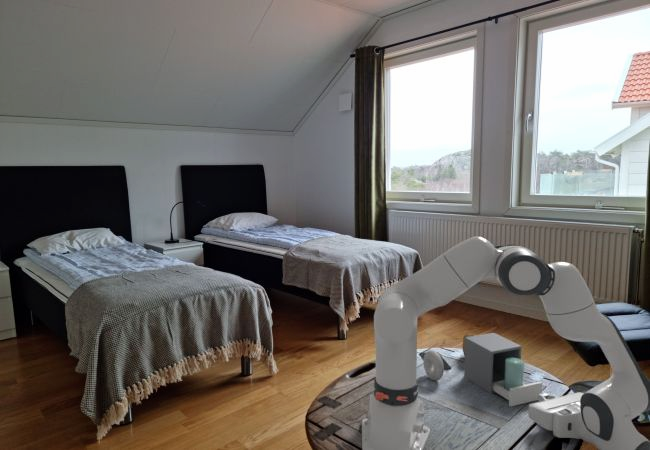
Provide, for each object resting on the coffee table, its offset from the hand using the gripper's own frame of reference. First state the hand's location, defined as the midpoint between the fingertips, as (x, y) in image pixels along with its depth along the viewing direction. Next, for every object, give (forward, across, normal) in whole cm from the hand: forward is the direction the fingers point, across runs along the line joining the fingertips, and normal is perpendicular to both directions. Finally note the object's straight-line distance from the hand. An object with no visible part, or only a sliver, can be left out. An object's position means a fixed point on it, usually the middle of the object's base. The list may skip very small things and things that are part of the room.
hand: (541, 395), depth 133 cm
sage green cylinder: (+11, 0, +3) cm, 11 cm away
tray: (+11, 0, +5) cm, 12 cm away
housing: (+21, 0, +5) cm, 22 cm away
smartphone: (+42, +8, +6) cm, 43 cm away
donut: (+30, +17, +6) cm, 35 cm away
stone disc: (+37, -5, +6) cm, 38 cm away
